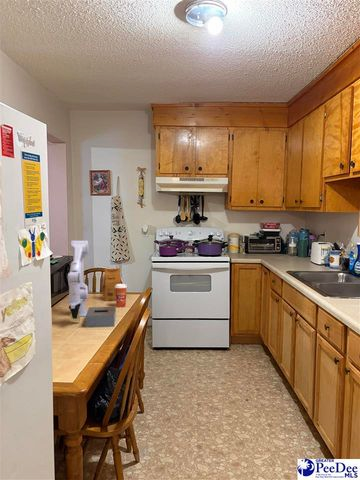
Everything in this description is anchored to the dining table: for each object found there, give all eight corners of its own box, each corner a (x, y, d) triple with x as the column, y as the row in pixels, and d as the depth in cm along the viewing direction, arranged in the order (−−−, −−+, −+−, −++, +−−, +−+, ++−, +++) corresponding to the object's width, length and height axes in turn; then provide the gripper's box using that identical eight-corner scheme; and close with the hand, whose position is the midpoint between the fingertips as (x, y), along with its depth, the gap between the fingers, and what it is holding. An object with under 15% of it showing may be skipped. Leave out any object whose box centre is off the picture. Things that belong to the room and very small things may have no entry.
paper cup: (115, 308, 223) (115, 286, 222) (114, 304, 230) (114, 283, 229) (128, 307, 225) (128, 285, 224) (126, 304, 232) (126, 283, 231)
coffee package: (102, 298, 247) (101, 267, 245) (119, 297, 251) (119, 266, 249) (103, 301, 238) (103, 269, 236) (121, 300, 241) (121, 268, 239)
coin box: (89, 317, 203) (89, 307, 202) (115, 316, 205) (115, 306, 204) (85, 327, 186) (85, 316, 186) (114, 326, 188) (114, 315, 188)
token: (70, 320, 193) (70, 313, 193) (80, 320, 194) (79, 312, 194) (70, 321, 191) (69, 314, 191) (79, 321, 192) (79, 314, 192)
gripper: (69, 290, 198) (69, 314, 199) (64, 297, 184) (65, 322, 185) (82, 290, 199) (82, 313, 200) (78, 296, 184) (78, 321, 186)
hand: (75, 317), depth 192 cm, fingers closed on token, 2 cm apart
